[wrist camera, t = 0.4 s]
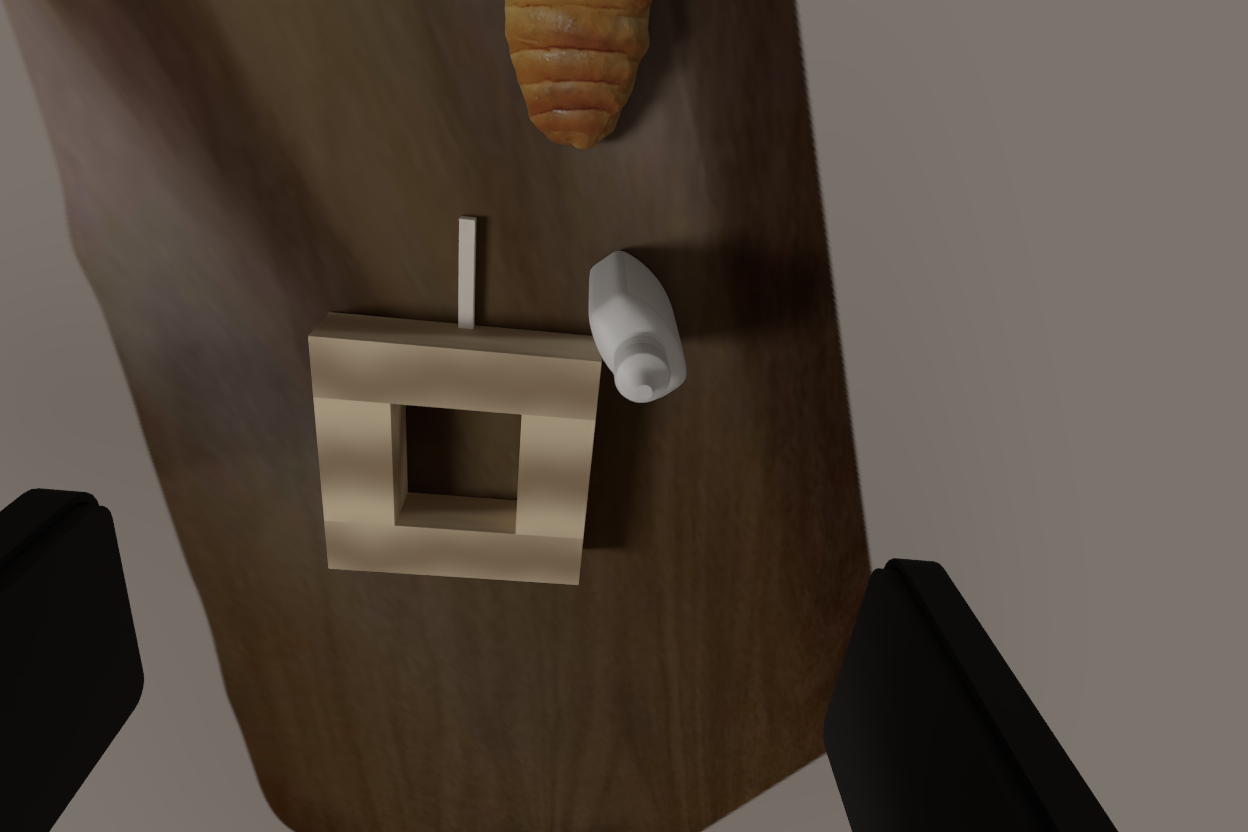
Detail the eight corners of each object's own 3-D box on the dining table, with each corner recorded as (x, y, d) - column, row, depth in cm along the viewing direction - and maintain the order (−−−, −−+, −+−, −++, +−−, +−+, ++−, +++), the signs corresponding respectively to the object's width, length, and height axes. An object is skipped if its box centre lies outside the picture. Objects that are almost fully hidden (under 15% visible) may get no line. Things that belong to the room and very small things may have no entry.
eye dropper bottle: (668, 242, 41) (692, 323, 30) (676, 339, 43) (701, 445, 33) (586, 251, 41) (582, 335, 30) (599, 348, 44) (599, 456, 33)
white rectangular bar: (460, 215, 40) (459, 218, 39) (476, 217, 40) (474, 220, 39) (460, 323, 43) (458, 327, 42) (474, 325, 43) (472, 329, 42)
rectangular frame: (329, 312, 42) (308, 336, 39) (601, 336, 43) (601, 361, 40) (345, 533, 49) (328, 568, 46) (579, 549, 50) (578, 584, 47)
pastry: (639, 148, 39) (642, 161, 35) (505, 138, 38) (495, 150, 35) (657, -70, 34) (662, -79, 31) (506, -84, 34) (495, -95, 31)
